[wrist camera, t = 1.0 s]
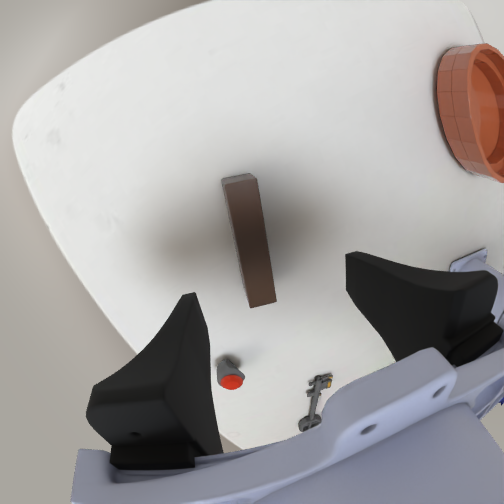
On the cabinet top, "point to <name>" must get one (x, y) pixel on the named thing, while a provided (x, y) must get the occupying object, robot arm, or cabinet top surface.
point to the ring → (229, 375)
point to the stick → (250, 238)
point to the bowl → (474, 107)
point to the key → (315, 403)
